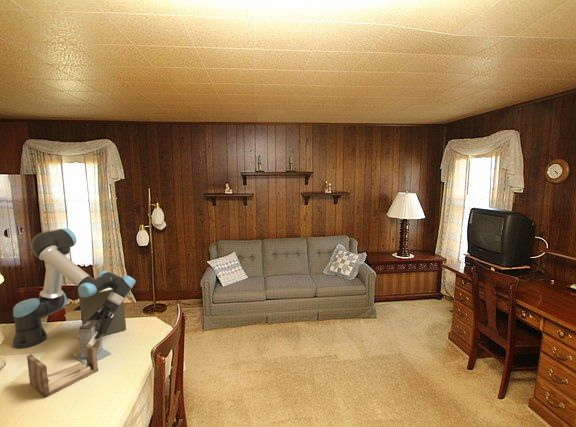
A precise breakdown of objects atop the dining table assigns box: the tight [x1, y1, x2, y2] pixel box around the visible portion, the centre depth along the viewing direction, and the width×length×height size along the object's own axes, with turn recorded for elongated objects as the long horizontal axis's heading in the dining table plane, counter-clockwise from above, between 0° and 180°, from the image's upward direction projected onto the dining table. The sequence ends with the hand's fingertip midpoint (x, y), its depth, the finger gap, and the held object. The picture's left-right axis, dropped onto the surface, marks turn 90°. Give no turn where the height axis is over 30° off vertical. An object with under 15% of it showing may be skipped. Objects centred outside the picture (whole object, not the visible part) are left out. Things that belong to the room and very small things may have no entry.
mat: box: [73, 347, 112, 365], centre depth 166 cm, size 14×12×1 cm
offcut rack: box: [26, 344, 99, 399], centre depth 147 cm, size 16×22×14 cm
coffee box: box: [78, 320, 103, 357], centre depth 164 cm, size 9×6×16 cm
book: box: [78, 288, 127, 337], centre depth 187 cm, size 22×9×28 cm, turn 127°
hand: (85, 341), depth 162 cm, fingers closed on coffee box, 10 cm apart
